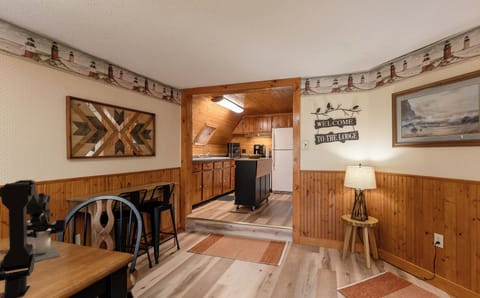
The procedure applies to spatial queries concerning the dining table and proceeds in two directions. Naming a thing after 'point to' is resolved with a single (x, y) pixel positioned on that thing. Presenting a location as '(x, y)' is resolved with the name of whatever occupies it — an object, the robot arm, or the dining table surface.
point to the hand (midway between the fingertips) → (44, 236)
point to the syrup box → (31, 239)
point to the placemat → (46, 254)
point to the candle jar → (43, 241)
